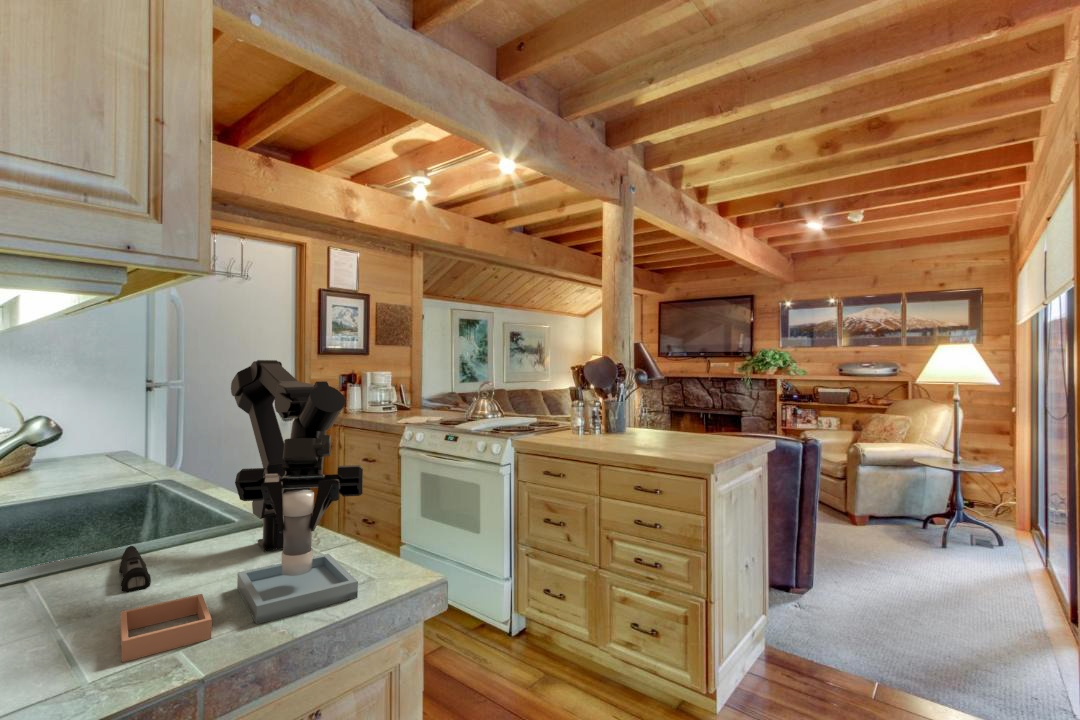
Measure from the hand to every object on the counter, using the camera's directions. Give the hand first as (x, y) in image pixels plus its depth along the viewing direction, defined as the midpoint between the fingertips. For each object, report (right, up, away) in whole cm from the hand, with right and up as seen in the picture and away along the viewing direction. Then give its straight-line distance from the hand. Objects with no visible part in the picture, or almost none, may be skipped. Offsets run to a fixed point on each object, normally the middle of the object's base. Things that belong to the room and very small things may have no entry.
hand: (296, 531), depth 82 cm
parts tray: (-1, -10, +1) cm, 10 cm away
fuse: (-1, -7, +1) cm, 7 cm away
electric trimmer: (-30, -10, +6) cm, 32 cm away
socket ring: (-12, -10, -12) cm, 19 cm away
